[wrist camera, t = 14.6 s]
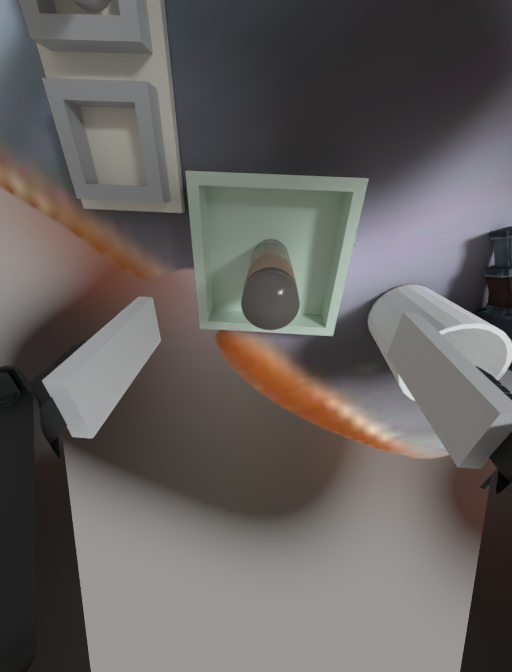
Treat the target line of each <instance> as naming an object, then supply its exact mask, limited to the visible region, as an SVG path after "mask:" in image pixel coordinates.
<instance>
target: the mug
mask: <svg viewBox="0 0 512 672" xmlns="http://www.w3.org/2000/svg"><path fill="white" fill-rule="evenodd" d="M403 312H411V313H419V314H420V315H421V316H422V317H423V318H424V319H425V320H426V321H427V322H429V323H430V324H431V325H432V326H433V327H434V328H435V329H436V330H437V331H438V332H439V333H440V334H441V335H442V336H443V337H445V338H446V339H447V340H448V341H449V342H450V343H451V344H452V345H453V346H454V347H455V348H456V349H457V350H458V351H459V352H461V353H462V354H463V355H464V356H465V357H466V358H467V359H468V360H469V361H470V362H471V363H472V364H473V365H474V366H478V367H479V368H481V369H483V370H484V371H486V372H488V373H489V374H491V375H492V376H493V377H494V378H495V379H496V380H499V379H500V378H501V377H502V376H503V375H504V374H505V373H506V371H507V369H508V367H509V365H510V364H511V362H512V341H511V340H510V338H509V337H508V336H507V335H506V333H505V332H504V331H502V330H500V329H499V328H497V327H495V326H493V325H492V324H490V323H488V322H486V321H485V320H483V319H481V318H479V317H478V316H476V315H474V314H472V313H471V312H469V311H467V310H465V309H464V308H462V307H460V306H458V305H456V304H455V303H453V302H451V301H449V300H448V299H446V298H444V297H442V296H441V295H439V294H437V293H435V292H434V291H432V290H430V289H428V288H427V287H425V286H422V285H417V284H409V285H402V286H399V287H395V288H393V289H391V290H389V291H387V292H385V293H384V294H383V295H382V296H381V297H379V298H378V299H377V301H376V302H375V303H374V304H373V306H372V308H371V310H370V312H369V314H368V320H367V323H368V329H369V331H370V333H371V335H372V336H373V338H374V340H375V342H376V344H377V345H378V347H379V349H380V351H381V353H382V355H383V356H384V358H385V360H386V362H387V364H388V366H389V367H390V369H391V371H392V373H393V375H394V377H395V378H396V380H397V382H398V384H399V386H400V388H401V389H402V391H403V393H404V394H406V395H407V396H408V397H409V398H410V399H412V400H414V401H415V399H414V398H413V396H412V394H411V393H410V391H409V390H408V388H407V387H406V385H405V383H404V382H403V380H402V379H401V377H400V375H399V374H398V372H397V371H396V369H395V368H394V366H393V364H392V363H391V361H390V360H389V358H388V357H387V353H388V350H389V348H390V345H391V343H392V340H393V337H394V335H395V332H396V330H397V327H398V324H399V322H400V319H401V317H402V314H403Z"/></svg>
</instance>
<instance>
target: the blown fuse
mask: <svg viewBox="0 0 512 672" xmlns="http://www.w3.org/2000/svg"><path fill="white" fill-rule="evenodd" d="M299 305H300V301H299V296H298V289H297V284H296V280H295V276H294V272H293V268H292V264H291V260H290V256H289V254H288V251H287V248H286V247H285V245H284V244H283V243H281V242H280V241H278V240H274V239H267V240H264V241H262V242H260V243H259V244H258V245H257V246H256V248H255V249H254V251H253V254H252V257H251V261H250V265H249V269H248V273H247V276H246V280H245V284H244V289H243V295H242V299H241V307H242V311H243V314H244V316H245V317H246V319H247V320H248V321H249V322H250V323H251V324H252V325H254V326H256V327H258V328H260V329H264V330H276V329H280V328H283V327H285V326H287V325H288V324H289V323H291V322H292V321H293V320H294V318H295V317H296V315H297V313H298V310H299Z"/></svg>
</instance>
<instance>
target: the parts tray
mask: <svg viewBox="0 0 512 672" xmlns="http://www.w3.org/2000/svg"><path fill="white" fill-rule="evenodd" d="M185 173H186V184H187V195H188V205H189V216H190V227H191V238H192V249H193V260H194V271H195V282H196V293H197V304H198V314H199V325H200V329H216V330H233V331H251V332H268V333H285V334H303V335H320V336H333V334H334V329H335V325H336V321H337V316H338V312H339V308H340V303H341V299H342V294H343V290H344V286H345V281H346V277H347V272H348V268H349V264H350V259H351V255H352V251H353V246H354V242H355V237H356V233H357V229H358V224H359V220H360V215H361V211H362V207H363V202H364V198H365V193H366V189H367V185H368V180H369V178H351V177H327V176H303V175H279V174H254V173H230V172H206V171H185ZM267 239H274V240H278V241H280V242H281V243H283V244H284V245H285V247H286V248H287V251H288V254H289V256H290V260H291V264H292V268H293V272H294V276H295V280H296V284H297V289H298V296H299V301H300V305H299V310H298V313H297V315H296V317H295V318H294V320H293V321H292V322H291V323H289V324H288V325H287V326H285V327H283V328H280V329H276V330H264V329H260V328H258V327H256V326H254V325H252V324H251V323H250V322H249V321H248V320H247V319H246V317H245V316H244V314H243V311H242V307H241V299H242V295H243V289H244V284H245V280H246V276H247V273H248V269H249V265H250V261H251V257H252V254H253V251H254V249H255V248H256V246H257V245H258V244H259V243H260V242H262V241H264V240H267Z"/></svg>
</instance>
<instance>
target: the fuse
mask: <svg viewBox="0 0 512 672" xmlns="http://www.w3.org/2000/svg"><path fill="white" fill-rule="evenodd" d="M73 1H74V2H75V3H76V4H77V5H79V6H80V7H81V8H83V9H84V10H87V11H90V12H98V11H101V10H103V9H104V8H105V7H106V6H107V5H108V4H109V2H110V0H73Z"/></svg>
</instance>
